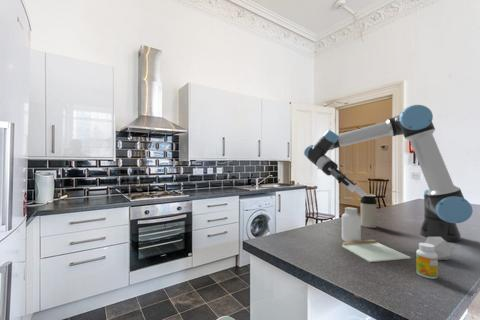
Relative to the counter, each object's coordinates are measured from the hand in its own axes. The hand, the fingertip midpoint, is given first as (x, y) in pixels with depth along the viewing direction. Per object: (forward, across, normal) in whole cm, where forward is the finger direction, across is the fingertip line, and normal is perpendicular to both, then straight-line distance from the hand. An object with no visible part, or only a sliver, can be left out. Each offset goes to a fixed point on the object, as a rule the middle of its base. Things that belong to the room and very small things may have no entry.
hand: (359, 192), depth 106 cm
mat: (+21, +4, -14) cm, 26 cm away
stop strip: (+15, 0, -17) cm, 23 cm away
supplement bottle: (+37, +13, -6) cm, 40 cm away
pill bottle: (+11, -3, -20) cm, 23 cm away
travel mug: (+4, -35, -14) cm, 38 cm away
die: (+35, -6, -1) cm, 35 cm away
